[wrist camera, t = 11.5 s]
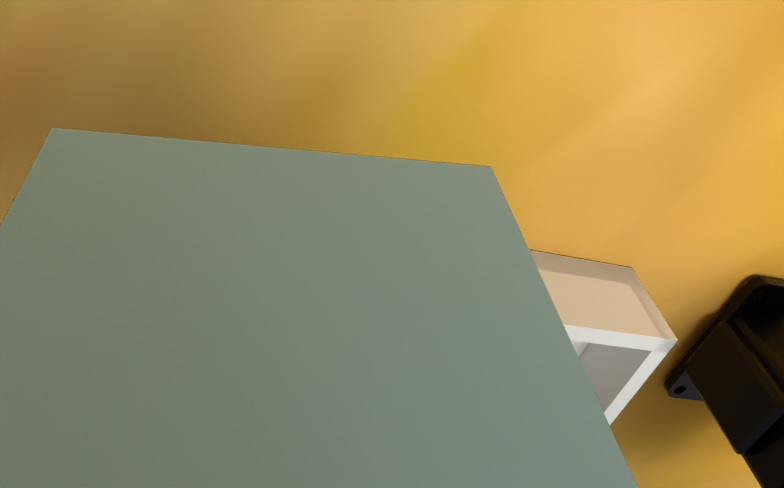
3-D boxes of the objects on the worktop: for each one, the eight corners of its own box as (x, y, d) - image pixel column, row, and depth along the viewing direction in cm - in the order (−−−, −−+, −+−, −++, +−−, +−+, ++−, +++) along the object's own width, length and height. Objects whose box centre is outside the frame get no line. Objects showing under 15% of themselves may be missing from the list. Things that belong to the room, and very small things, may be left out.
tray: (631, 267, 24) (678, 340, 21) (490, 476, 31) (510, 549, 29) (85, 172, 19) (53, 252, 16) (69, 450, 26) (46, 537, 23)
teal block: (490, 167, 8) (675, 569, 4) (411, 419, 11) (480, 790, 7) (51, 127, 7) (-204, 616, 3) (92, 418, 10) (-19, 852, 6)
